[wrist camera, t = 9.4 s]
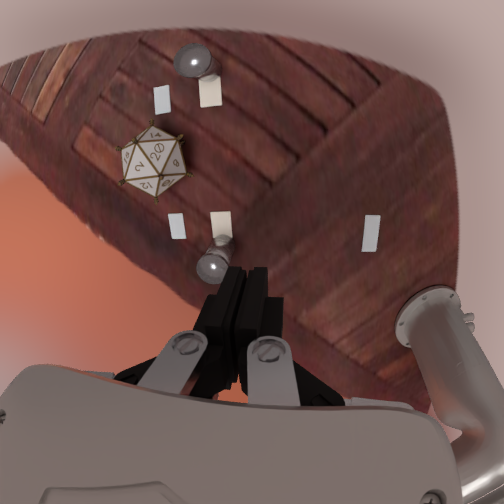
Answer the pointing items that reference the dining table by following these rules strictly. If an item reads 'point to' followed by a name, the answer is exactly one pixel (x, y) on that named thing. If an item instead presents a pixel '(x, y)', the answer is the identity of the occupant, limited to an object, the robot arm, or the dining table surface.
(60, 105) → the dining table surface
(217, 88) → the distance lines
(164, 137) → the game die
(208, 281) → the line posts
